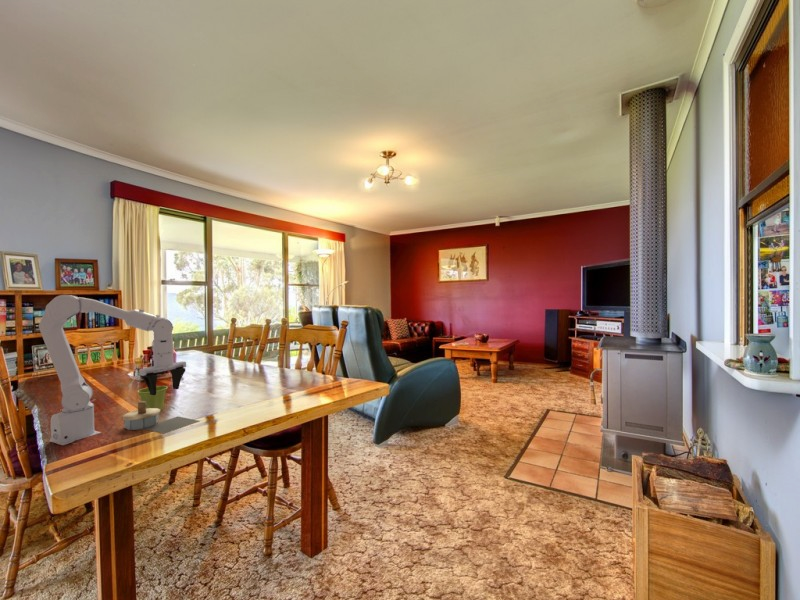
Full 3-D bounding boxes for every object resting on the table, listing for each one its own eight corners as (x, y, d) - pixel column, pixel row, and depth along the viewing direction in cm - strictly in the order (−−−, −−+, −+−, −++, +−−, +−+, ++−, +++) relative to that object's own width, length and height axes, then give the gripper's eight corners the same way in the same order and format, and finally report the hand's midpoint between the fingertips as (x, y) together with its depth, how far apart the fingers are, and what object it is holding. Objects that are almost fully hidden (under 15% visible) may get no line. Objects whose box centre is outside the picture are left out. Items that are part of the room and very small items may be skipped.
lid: (136, 421, 109) (135, 408, 109) (115, 418, 113) (115, 405, 113) (167, 411, 119) (167, 399, 119) (147, 408, 122) (147, 396, 122)
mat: (163, 435, 108) (163, 433, 108) (140, 430, 113) (140, 428, 113) (200, 422, 119) (200, 420, 119) (177, 418, 124) (177, 416, 124)
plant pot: (132, 413, 129) (132, 390, 129) (159, 406, 138) (159, 384, 138) (146, 417, 125) (145, 393, 125) (173, 409, 133) (173, 387, 133)
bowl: (135, 433, 110) (135, 420, 110) (119, 429, 114) (119, 417, 114) (163, 424, 118) (163, 412, 118) (148, 420, 122) (147, 409, 122)
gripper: (147, 357, 113) (149, 398, 113) (191, 350, 126) (192, 387, 126) (135, 355, 116) (136, 396, 116) (178, 349, 129) (180, 385, 129)
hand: (164, 391), depth 121 cm, fingers open, 7 cm apart
